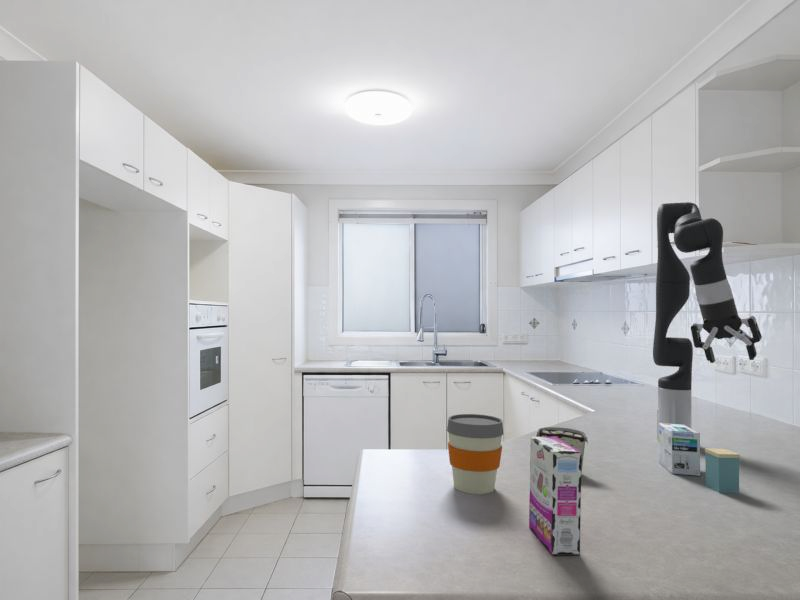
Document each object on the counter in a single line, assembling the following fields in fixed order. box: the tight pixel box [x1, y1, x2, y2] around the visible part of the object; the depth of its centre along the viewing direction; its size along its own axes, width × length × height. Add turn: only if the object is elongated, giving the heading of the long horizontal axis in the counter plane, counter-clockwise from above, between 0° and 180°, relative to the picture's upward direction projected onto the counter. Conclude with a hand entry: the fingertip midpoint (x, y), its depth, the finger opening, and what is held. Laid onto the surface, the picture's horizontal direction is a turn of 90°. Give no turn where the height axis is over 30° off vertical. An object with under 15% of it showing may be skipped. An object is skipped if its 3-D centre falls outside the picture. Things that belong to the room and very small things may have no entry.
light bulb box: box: [658, 423, 701, 477], centre depth 126 cm, size 11×7×11 cm, turn 168°
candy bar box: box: [528, 436, 582, 556], centre depth 83 cm, size 11×5×16 cm, turn 5°
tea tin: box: [704, 447, 741, 494], centre depth 111 cm, size 5×5×9 cm
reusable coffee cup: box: [446, 413, 504, 495], centre depth 109 cm, size 13×13×15 cm
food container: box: [535, 426, 589, 474], centre depth 124 cm, size 12×6×10 cm, turn 65°
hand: (732, 360), depth 123 cm, fingers open, 8 cm apart
